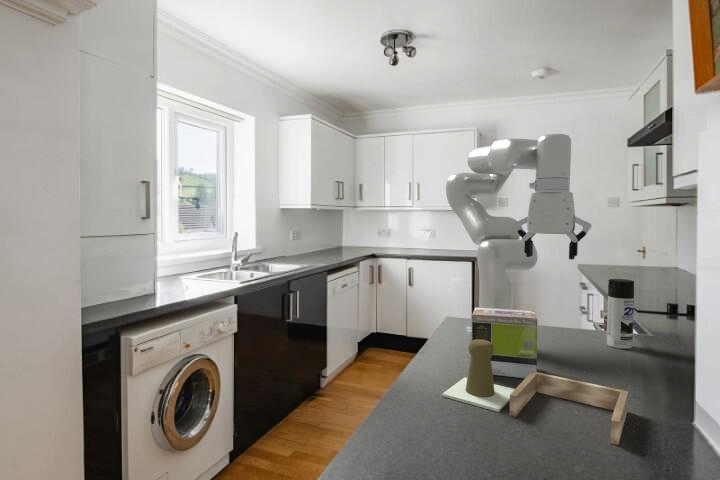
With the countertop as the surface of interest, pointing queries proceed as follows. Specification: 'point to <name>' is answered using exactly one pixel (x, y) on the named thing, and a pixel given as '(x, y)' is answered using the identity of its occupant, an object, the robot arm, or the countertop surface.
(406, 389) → the countertop surface
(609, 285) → the spray can
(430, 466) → the countertop surface
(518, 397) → the wooden u-shaped frame
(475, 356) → the cork
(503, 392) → the mat
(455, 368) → the countertop surface
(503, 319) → the tea box
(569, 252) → the robot arm
